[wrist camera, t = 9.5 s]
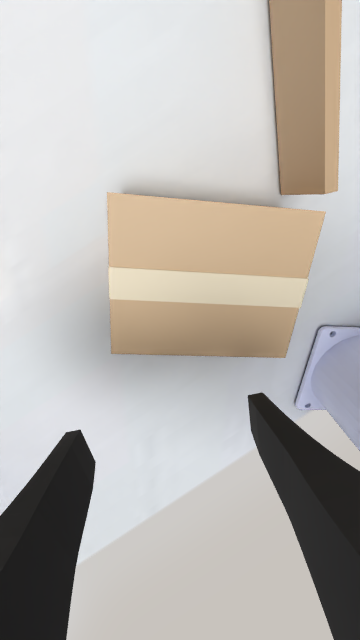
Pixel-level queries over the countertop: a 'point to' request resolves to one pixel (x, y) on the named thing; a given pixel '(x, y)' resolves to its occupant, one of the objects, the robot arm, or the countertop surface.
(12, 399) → the countertop surface
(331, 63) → the flap
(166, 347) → the carton
